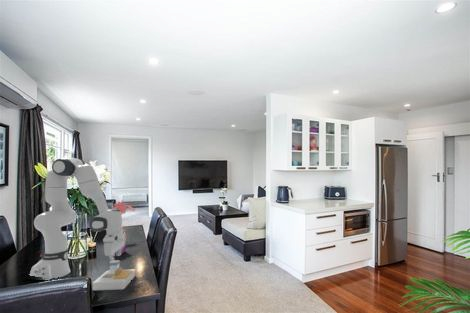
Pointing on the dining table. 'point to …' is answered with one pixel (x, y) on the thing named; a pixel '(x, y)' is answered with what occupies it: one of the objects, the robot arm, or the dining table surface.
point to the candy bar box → (123, 246)
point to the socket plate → (112, 281)
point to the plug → (114, 264)
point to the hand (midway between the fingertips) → (115, 258)
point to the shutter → (122, 273)
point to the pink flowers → (122, 208)
